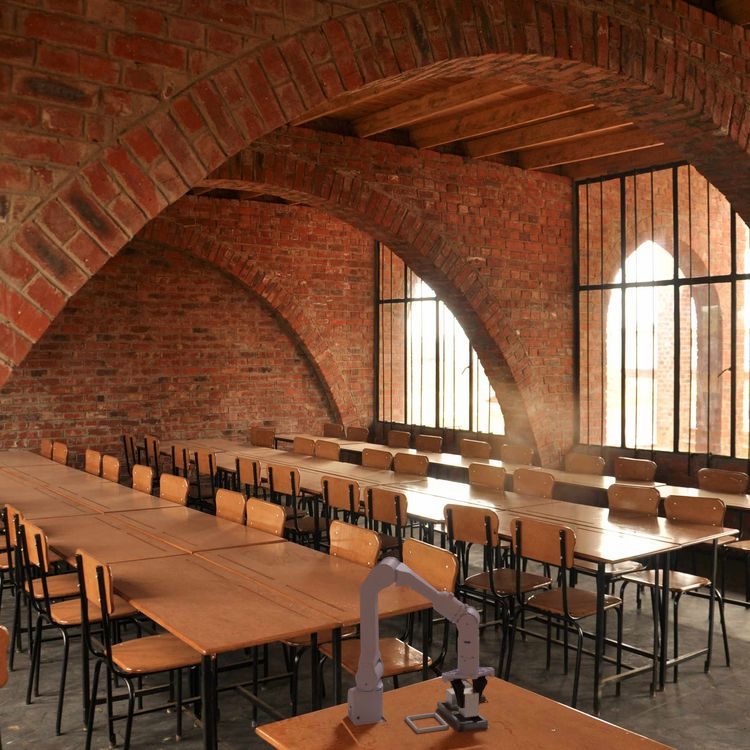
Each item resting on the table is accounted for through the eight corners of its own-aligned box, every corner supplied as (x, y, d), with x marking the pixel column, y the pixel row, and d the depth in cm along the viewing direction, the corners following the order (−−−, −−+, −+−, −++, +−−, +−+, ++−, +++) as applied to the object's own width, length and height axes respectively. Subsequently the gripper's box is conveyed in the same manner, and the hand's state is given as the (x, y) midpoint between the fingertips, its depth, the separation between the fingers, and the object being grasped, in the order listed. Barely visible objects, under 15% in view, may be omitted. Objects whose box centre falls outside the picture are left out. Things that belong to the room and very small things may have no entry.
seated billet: (452, 716, 227) (452, 694, 227) (446, 710, 231) (446, 689, 231) (465, 714, 228) (465, 692, 228) (459, 708, 232) (459, 687, 232)
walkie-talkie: (495, 707, 237) (466, 682, 256) (495, 692, 237) (466, 668, 256) (467, 711, 234) (439, 686, 253) (467, 695, 234) (439, 671, 253)
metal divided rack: (458, 737, 216) (458, 725, 216) (435, 713, 232) (435, 702, 232) (490, 732, 219) (490, 721, 219) (464, 709, 234) (464, 698, 234)
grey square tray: (417, 737, 216) (417, 730, 216) (404, 723, 224) (404, 716, 224) (448, 733, 219) (448, 725, 219) (435, 719, 227) (435, 712, 227)
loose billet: (464, 717, 219) (464, 694, 219) (458, 711, 223) (458, 689, 223) (478, 715, 220) (478, 693, 220) (472, 709, 224) (472, 687, 224)
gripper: (449, 662, 216) (449, 715, 216) (499, 656, 220) (499, 708, 220) (438, 654, 222) (438, 704, 222) (487, 648, 227) (487, 698, 227)
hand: (468, 705), depth 222 cm, fingers closed on loose billet, 4 cm apart
